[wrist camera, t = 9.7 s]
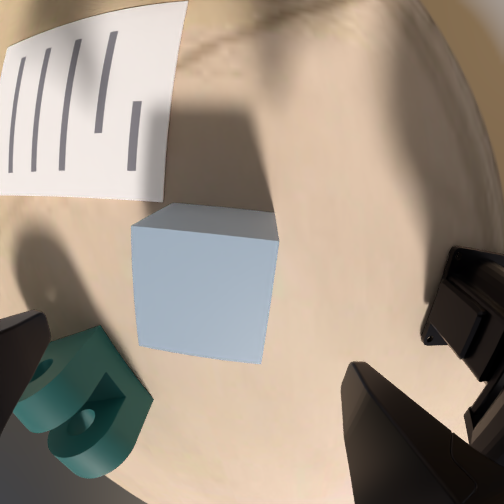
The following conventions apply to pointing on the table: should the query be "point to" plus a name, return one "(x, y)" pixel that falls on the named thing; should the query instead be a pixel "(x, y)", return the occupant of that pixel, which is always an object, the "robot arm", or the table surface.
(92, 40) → the letter
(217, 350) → the cube
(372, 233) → the table surface
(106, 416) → the bracket
